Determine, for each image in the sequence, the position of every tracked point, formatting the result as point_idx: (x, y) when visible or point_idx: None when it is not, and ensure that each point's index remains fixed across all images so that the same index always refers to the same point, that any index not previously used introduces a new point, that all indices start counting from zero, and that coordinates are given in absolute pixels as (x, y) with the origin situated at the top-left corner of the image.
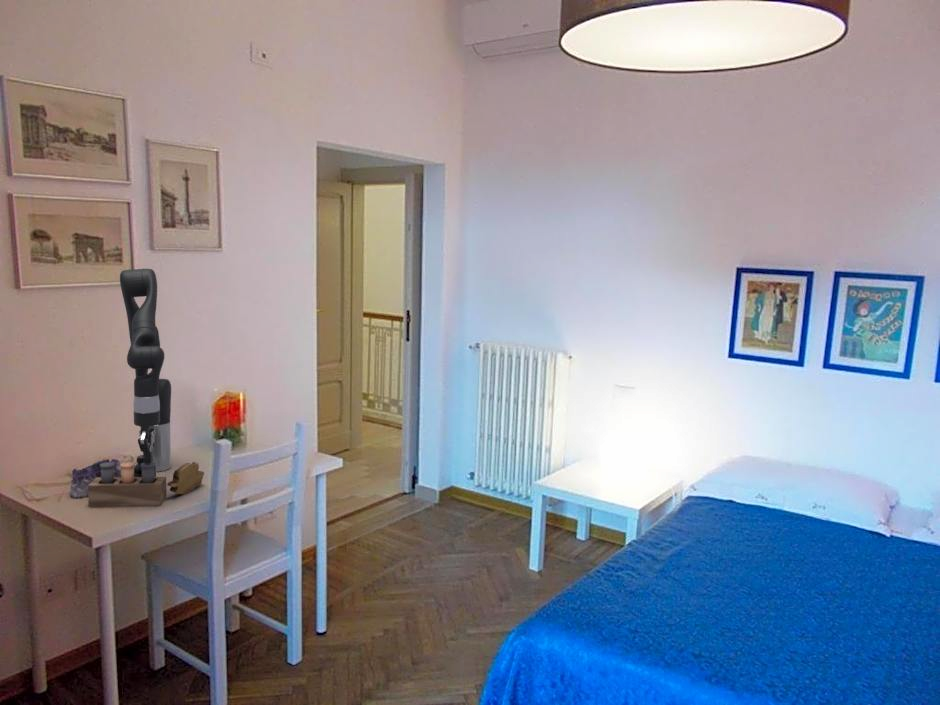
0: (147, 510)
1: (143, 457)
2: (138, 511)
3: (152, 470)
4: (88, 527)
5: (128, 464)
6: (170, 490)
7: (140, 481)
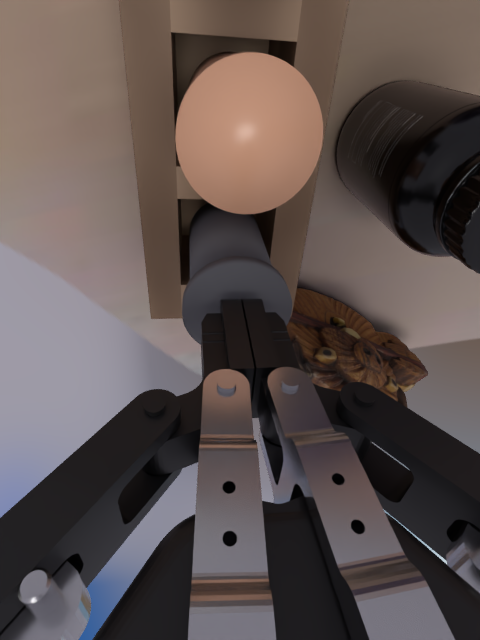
0: (100, 215)
1: (223, 330)
2: (81, 176)
3: None
4: None
5: (233, 156)
6: None
7: None
